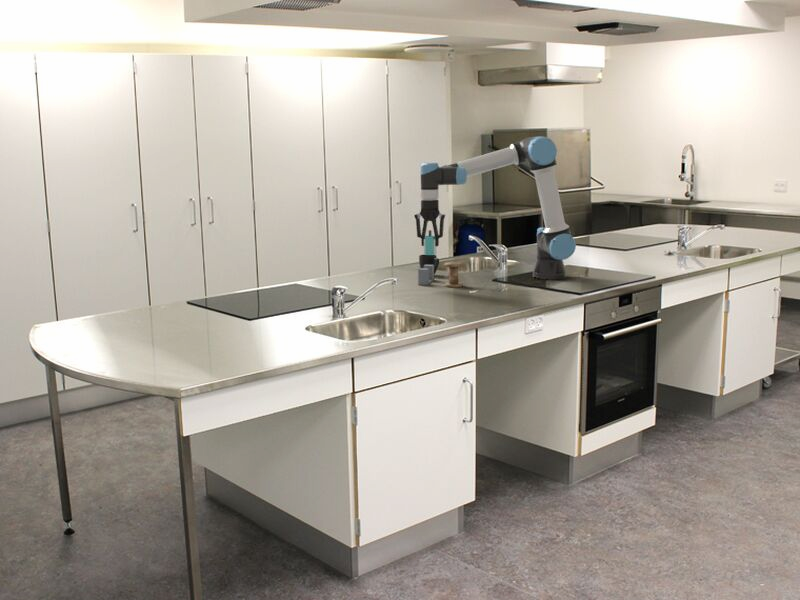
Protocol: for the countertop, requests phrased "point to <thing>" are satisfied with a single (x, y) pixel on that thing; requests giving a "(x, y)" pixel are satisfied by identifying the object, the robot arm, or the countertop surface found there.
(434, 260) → the mug
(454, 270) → the bobbin
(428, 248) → the teal bottle
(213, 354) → the countertop surface
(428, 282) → the notch board
